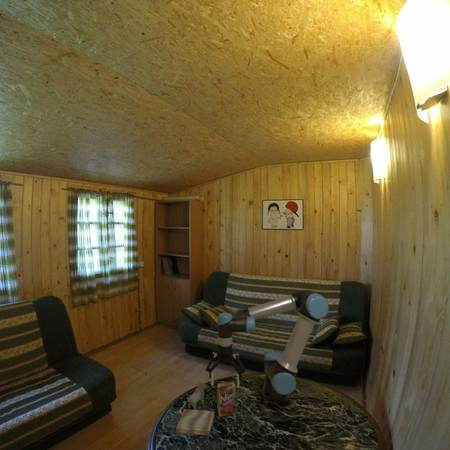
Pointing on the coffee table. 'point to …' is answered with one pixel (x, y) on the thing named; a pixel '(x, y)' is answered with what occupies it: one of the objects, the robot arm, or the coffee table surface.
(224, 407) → the candy box
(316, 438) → the coffee table surface
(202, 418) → the board
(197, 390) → the dog figurine
